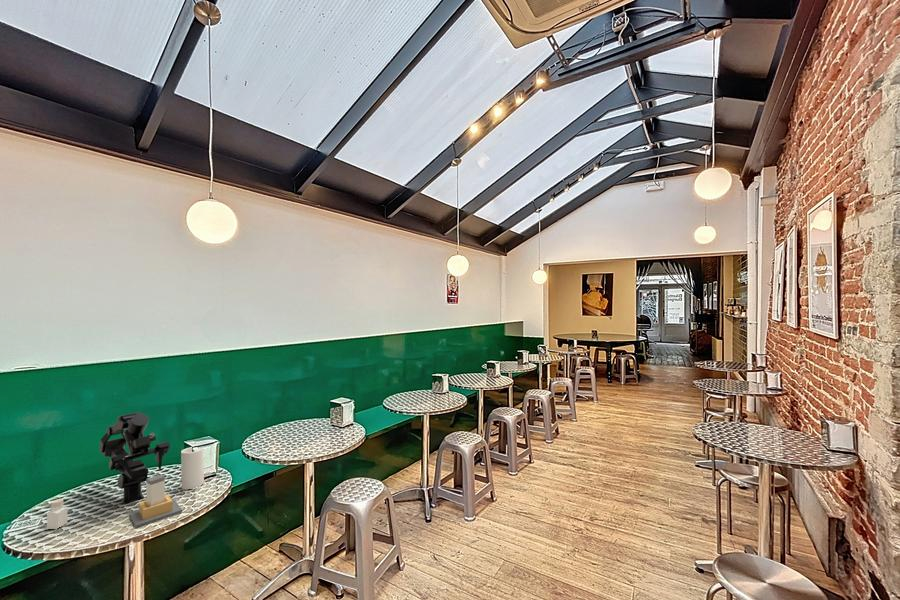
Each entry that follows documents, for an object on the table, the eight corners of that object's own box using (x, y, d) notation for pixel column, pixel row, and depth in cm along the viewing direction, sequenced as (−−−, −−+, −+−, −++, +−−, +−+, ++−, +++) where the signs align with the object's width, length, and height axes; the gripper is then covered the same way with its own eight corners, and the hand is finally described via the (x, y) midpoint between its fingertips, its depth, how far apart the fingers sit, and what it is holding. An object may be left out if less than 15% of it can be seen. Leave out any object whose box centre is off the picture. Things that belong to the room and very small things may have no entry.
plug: (146, 512, 146) (146, 478, 147) (160, 507, 150) (159, 474, 150) (151, 515, 144) (150, 481, 144) (165, 509, 148) (164, 477, 148)
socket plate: (129, 514, 147) (129, 503, 147) (173, 500, 157) (173, 489, 157) (135, 528, 137) (135, 515, 137) (182, 512, 147) (182, 500, 147)
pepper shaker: (68, 523, 142) (68, 497, 142) (57, 530, 138) (57, 503, 138) (57, 524, 142) (56, 498, 142) (46, 530, 138) (45, 503, 138)
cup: (208, 482, 173) (207, 446, 173) (190, 491, 165) (190, 453, 165) (195, 480, 175) (194, 445, 176) (177, 488, 168) (176, 451, 168)
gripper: (109, 436, 147) (119, 471, 141) (167, 421, 162) (178, 453, 156) (104, 452, 152) (114, 487, 145) (161, 437, 167) (172, 468, 161)
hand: (146, 473), depth 152 cm, fingers open, 9 cm apart
